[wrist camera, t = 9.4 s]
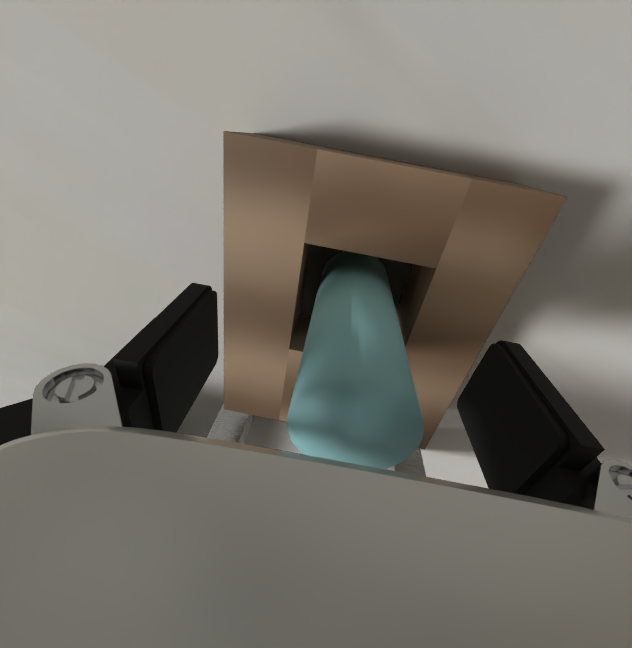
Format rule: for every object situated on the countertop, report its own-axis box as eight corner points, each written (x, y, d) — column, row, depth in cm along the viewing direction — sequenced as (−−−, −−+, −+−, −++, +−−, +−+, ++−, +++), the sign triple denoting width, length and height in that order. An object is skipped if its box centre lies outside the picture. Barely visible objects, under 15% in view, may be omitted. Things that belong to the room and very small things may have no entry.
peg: (327, 243, 16) (295, 366, 7) (395, 256, 16) (446, 396, 7) (316, 304, 17) (280, 458, 9) (377, 316, 17) (399, 482, 9)
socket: (252, 133, 13) (223, 131, 10) (519, 184, 13) (567, 197, 10) (242, 370, 21) (223, 409, 18) (414, 404, 21) (424, 449, 18)
